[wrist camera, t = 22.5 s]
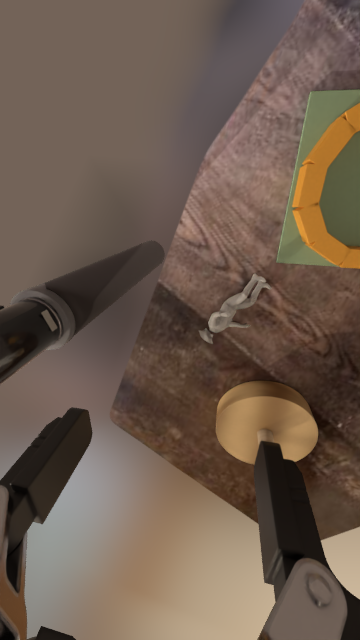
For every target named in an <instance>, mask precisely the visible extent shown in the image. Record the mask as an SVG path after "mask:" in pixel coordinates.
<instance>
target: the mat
mask: <svg viewBox="0 0 360 640" xmlns="http://www.w3.org/2000/svg"><path fill="white" fill-rule="evenodd" d="M359 103H360V89H354V90H329V91H311V93H310V94H309V99H308V104H307V109H306V114H305V119H304V124H303V129H302V135H301V140H300V145H299V150H298V155H297V160H296V165H295V170H294V175H293V180H292V185H291V190H290V195H289V200H288V205H287V210H286V215H285V220H284V225H283V230H282V235H281V240H280V245H279V250H278V255H277V260H276V262H277V263H292V264H308V265H324V266H337V265H335V264H333V263H331V262H329V261H328V260H326V259H325V258H323V257H322V256H321V255H319V254H318V253H316V252H315V251H314V250H312V249H311V248H309V247H308V246H307V245H305V242H303V241H302V238H301V235H300V232H299V229H298V226H297V223H296V220H295V217H294V215H293V212H292V211H293V210H294V209H296V208H298V207H292V204H293V200H294V195H295V190H296V185H297V180H298V175H299V170H300V168H301V167H302V166H304V165H303V164H302V163H303V161H304V160H305V159H306V157H307V156H308V155H309V153H310V152H311V150H312V149H313V148H314V146H315V145H316V143H317V142H318V141H319V139H320V138H321V137H322V135H323V134H324V132H325V131H326V130H327V128H328V127H329V126H330V124H332V123H333V122H334V121H335V120H336V119H337V118H338V117H339V116H341V115H342V114H343V113H344V112H346V111H347V110H349V109H350V108H352V107H354V106H355V105H357V104H359ZM319 206H320V209H321V212H322V216H323V219H324V222H325V225H326V229H327V232H328V233H329V234H330V235H332V236H333V237H335V238H336V239H337V240H339V241H340V242H342V243H343V244H344V245H346V246H356V247H360V131H358V132H357V133H355V134H354V135H353V136H352V138H351V139H350V140H349V141H348V143H347V144H346V145H345V147H344V148H343V149H342V150H341V152H340V153H339V154H338V156H337V157H336V158H335V159H334V161H333V162H332V163H331V165H330V166H329V167H328V169H327V173H326V177H325V181H324V185H323V189H322V193H321V198H320V202H319ZM339 267H340V266H339Z"/></svg>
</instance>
